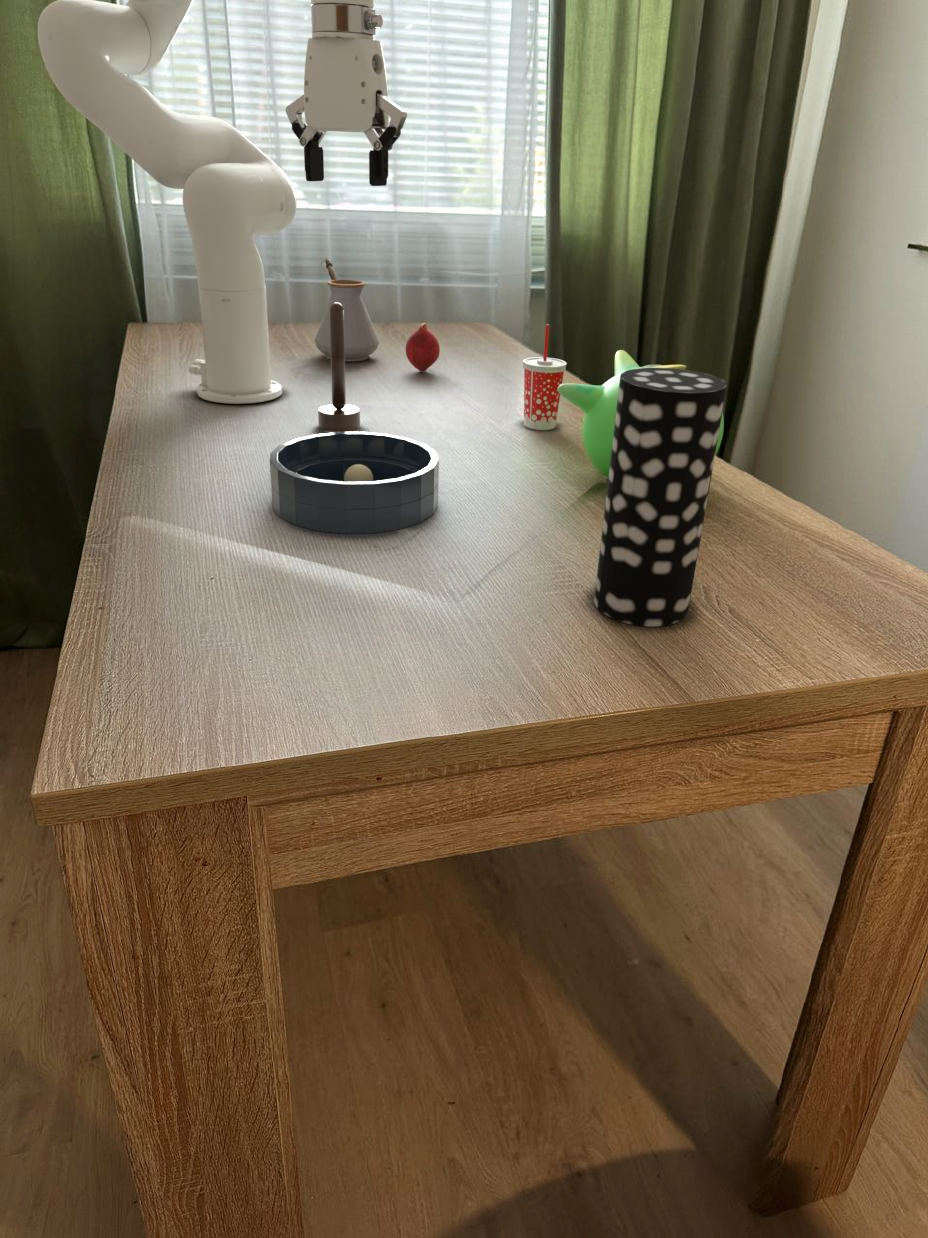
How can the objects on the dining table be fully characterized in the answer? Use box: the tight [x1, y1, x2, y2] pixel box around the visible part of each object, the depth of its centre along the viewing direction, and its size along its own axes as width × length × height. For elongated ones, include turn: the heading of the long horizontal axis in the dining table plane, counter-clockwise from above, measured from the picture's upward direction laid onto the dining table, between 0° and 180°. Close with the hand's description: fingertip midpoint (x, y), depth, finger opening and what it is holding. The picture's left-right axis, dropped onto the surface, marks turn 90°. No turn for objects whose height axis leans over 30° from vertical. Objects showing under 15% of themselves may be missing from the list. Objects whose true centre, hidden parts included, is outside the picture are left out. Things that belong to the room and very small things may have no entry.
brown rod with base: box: [317, 302, 361, 432], centre depth 122 cm, size 6×6×17 cm
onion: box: [405, 322, 441, 373], centre depth 157 cm, size 6×6×8 cm
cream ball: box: [344, 464, 373, 482], centre depth 102 cm, size 3×3×3 cm
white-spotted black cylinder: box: [593, 368, 728, 627], centre depth 77 cm, size 8×8×20 cm
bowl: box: [269, 431, 440, 535], centre depth 99 cm, size 18×18×6 cm
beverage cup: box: [522, 323, 568, 431], centre depth 129 cm, size 6×6×14 cm
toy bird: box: [558, 349, 725, 479], centre depth 108 cm, size 18×17×15 cm
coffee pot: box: [314, 258, 380, 362], centre depth 167 cm, size 21×12×15 cm, turn 20°
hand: (346, 183), depth 119 cm, fingers open, 9 cm apart
